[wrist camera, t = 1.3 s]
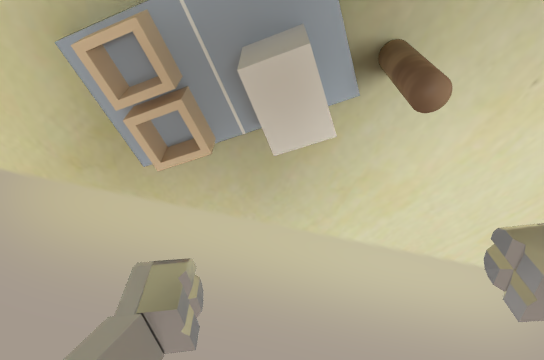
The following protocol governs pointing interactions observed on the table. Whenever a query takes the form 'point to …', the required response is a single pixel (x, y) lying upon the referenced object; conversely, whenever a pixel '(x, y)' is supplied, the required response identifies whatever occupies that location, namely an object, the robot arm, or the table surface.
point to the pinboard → (196, 68)
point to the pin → (415, 76)
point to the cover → (286, 90)
